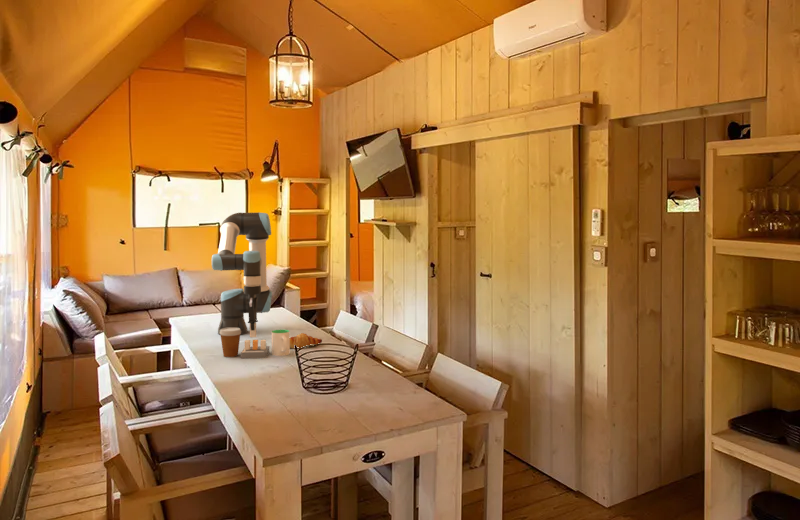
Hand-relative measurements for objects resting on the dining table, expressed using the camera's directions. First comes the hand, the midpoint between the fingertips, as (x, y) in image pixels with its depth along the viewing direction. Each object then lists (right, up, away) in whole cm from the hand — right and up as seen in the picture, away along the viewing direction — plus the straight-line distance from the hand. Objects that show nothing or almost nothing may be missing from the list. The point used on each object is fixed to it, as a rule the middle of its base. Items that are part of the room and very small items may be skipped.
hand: (253, 336), depth 268 cm
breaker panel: (+1, -8, +1) cm, 8 cm away
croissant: (+18, -7, +18) cm, 27 cm away
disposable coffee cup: (-10, -9, 0) cm, 13 cm away
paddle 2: (+1, -6, +1) cm, 6 cm away
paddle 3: (+4, -6, +1) cm, 7 cm away
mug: (+13, -9, +2) cm, 16 cm away
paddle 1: (-3, -6, 0) cm, 6 cm away
